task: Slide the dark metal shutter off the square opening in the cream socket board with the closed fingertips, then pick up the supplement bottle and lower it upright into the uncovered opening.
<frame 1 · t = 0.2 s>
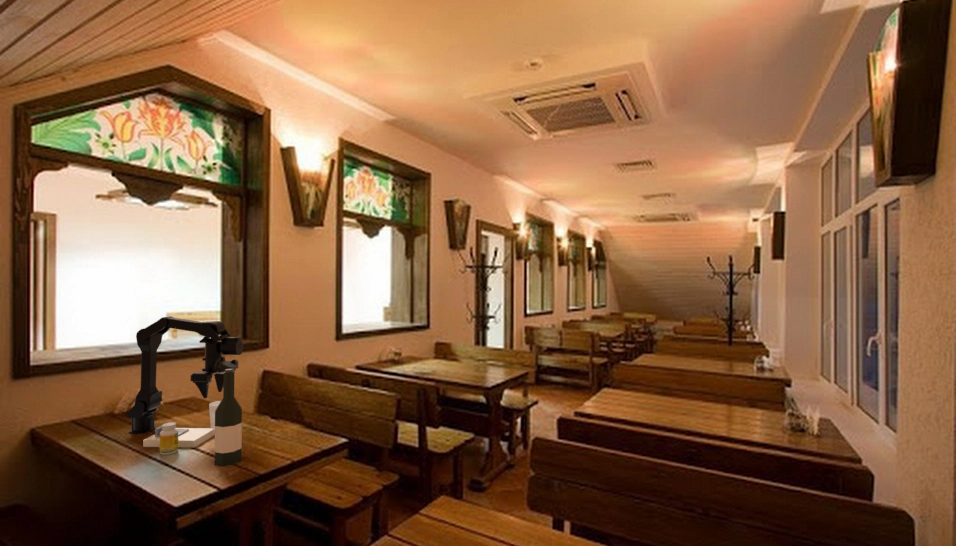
hand: (212, 394, 183), 14 cm above the table, fingers open, 9 cm apart
supplement bottle: (168, 452, 163), on the table
socket board: (180, 440, 174), on the table
shutter: (172, 429, 174), point 4 cm above the table, slide at 0.0 cm
wine bottle: (228, 461, 156), on the table
white cup: (220, 428, 188), on the table
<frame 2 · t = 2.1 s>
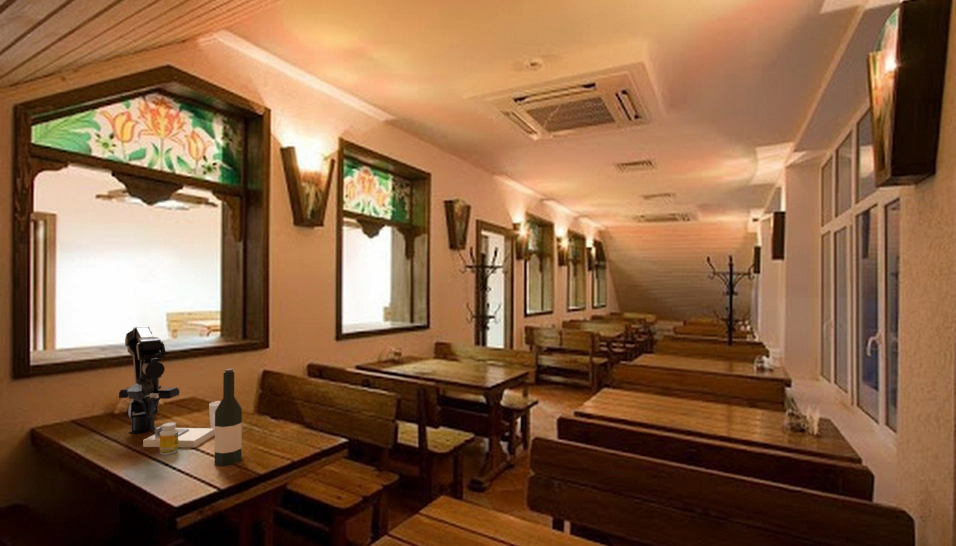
hand: (149, 416, 174), 9 cm above the table, fingers closed
nothing on the table moved.
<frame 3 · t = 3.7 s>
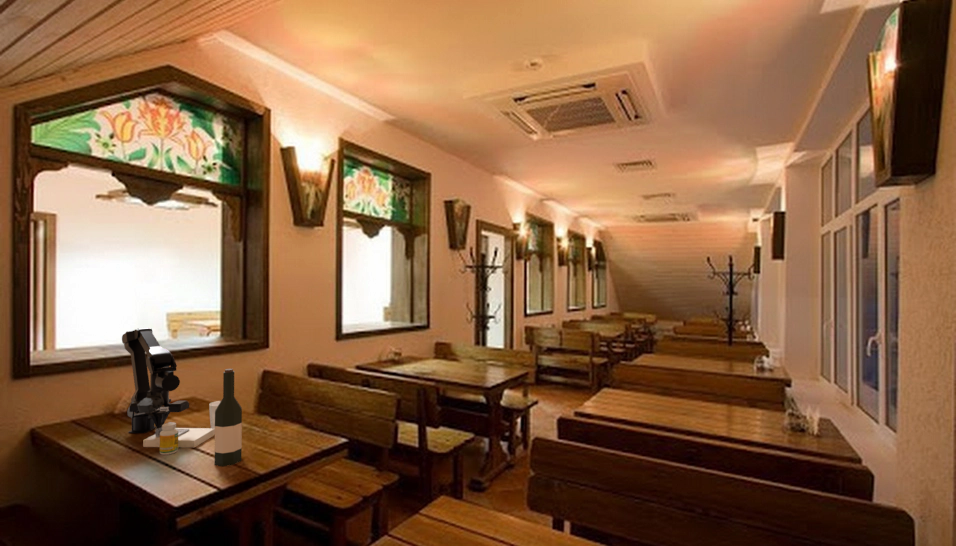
hand: (159, 429, 174), 4 cm above the table, fingers closed
shutter: (172, 429, 174), point 4 cm above the table, slide at 0.2 cm, touching gripper
everything else where it was.
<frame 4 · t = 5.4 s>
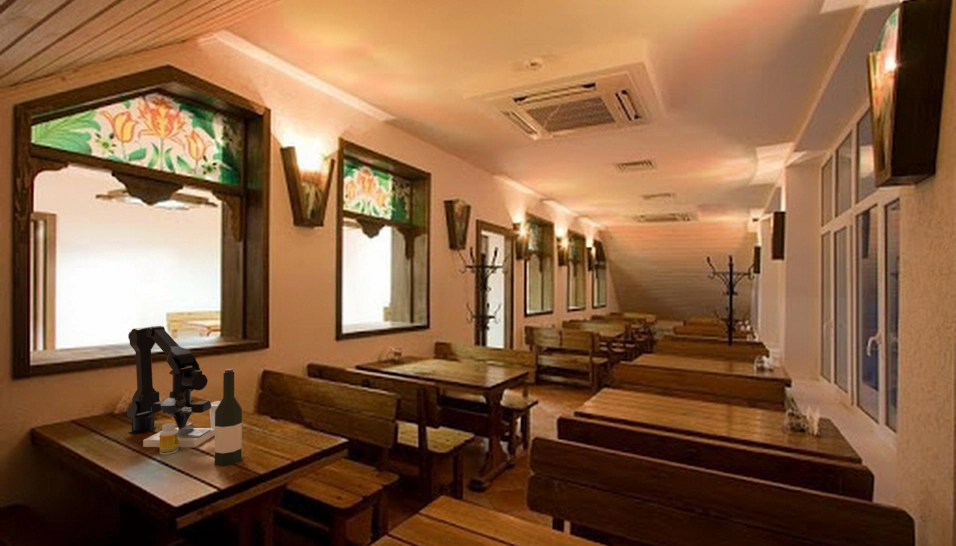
hand: (181, 429, 174), 4 cm above the table, fingers closed
shutter: (194, 429, 174), point 4 cm above the table, slide at 8.3 cm, touching gripper
everything else where it was.
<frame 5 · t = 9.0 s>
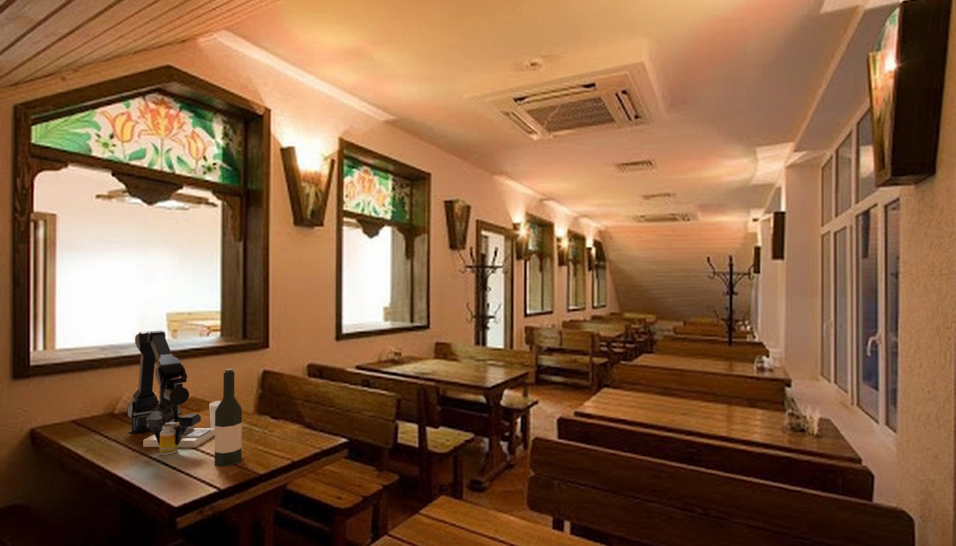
hand: (169, 444, 163), 3 cm above the table, fingers closed on supplement bottle, 5 cm apart
supplement bottle: (168, 452, 163), on the table, touching gripper
shutter: (195, 429, 174), point 4 cm above the table, slide at 8.4 cm
everything else where it was.
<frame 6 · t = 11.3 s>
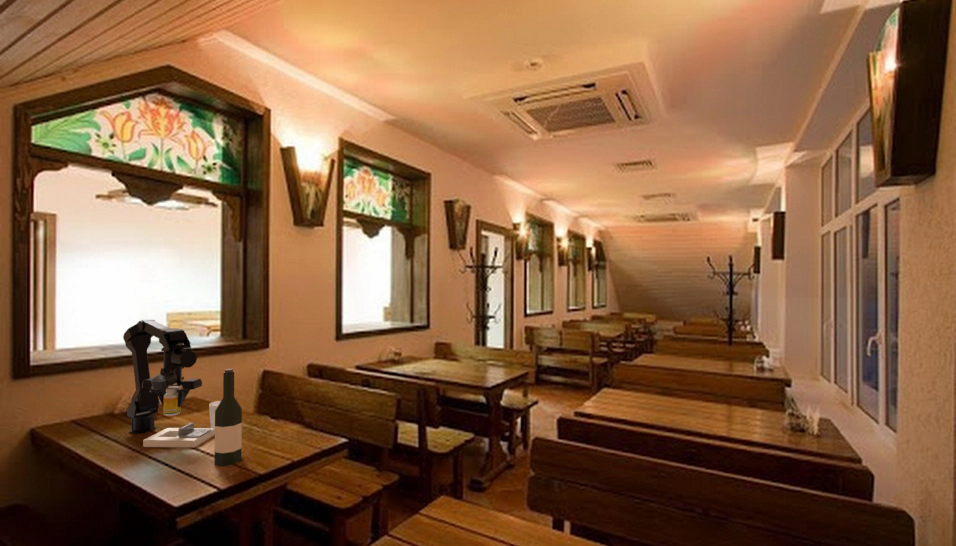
hand: (172, 406, 174), 12 cm above the table, fingers closed on supplement bottle, 5 cm apart
supplement bottle: (172, 414, 174), point 10 cm above the table, touching gripper
everything else where it was.
when the fingers open (4 cm above the table, at t = 13.3 s): supplement bottle drops 1 cm, resting in socket board.
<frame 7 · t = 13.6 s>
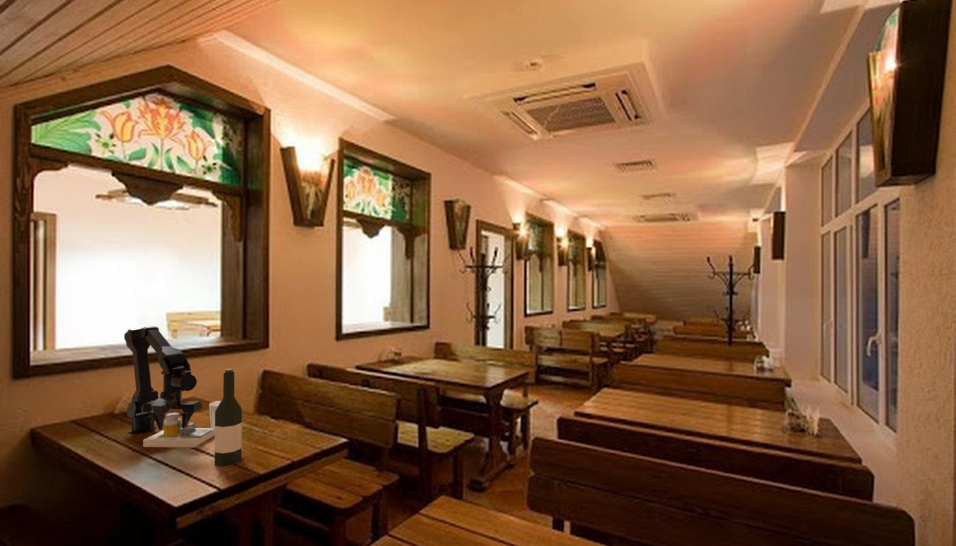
hand: (172, 430, 174), 4 cm above the table, fingers open, 8 cm apart
supplement bottle: (172, 441, 174), resting in socket board
shutter: (196, 429, 174), point 4 cm above the table, slide at 8.9 cm, touching gripper
everything else where it was.
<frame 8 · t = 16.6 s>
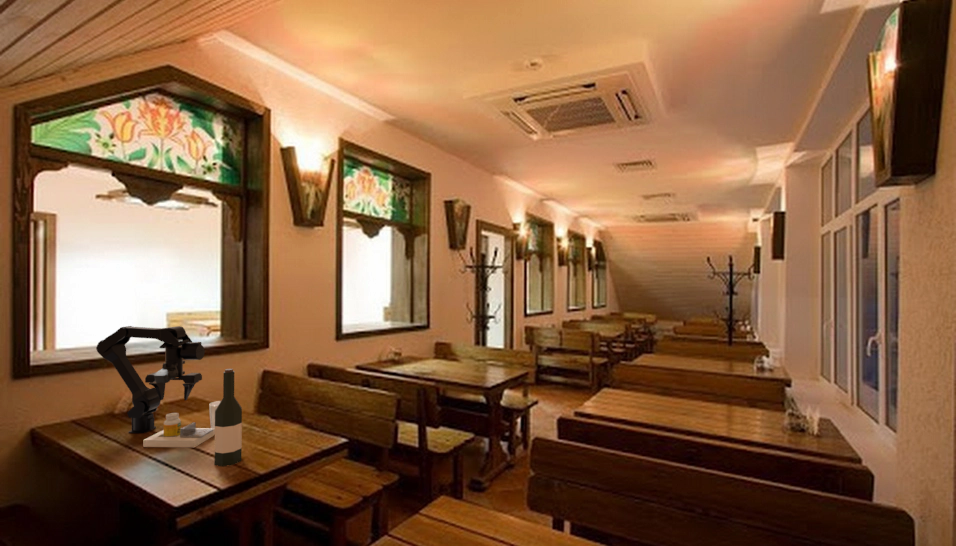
hand: (173, 399, 184), 12 cm above the table, fingers open, 9 cm apart
shutter: (197, 429, 174), point 4 cm above the table, slide at 9.0 cm
everything else where it was.
at the end: shutter slide at 9.0 cm; supplement bottle 0.0 cm from the target spot on the socket board, point 0.0 cm above the socket board's base; supplement bottle tilted 0° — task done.
